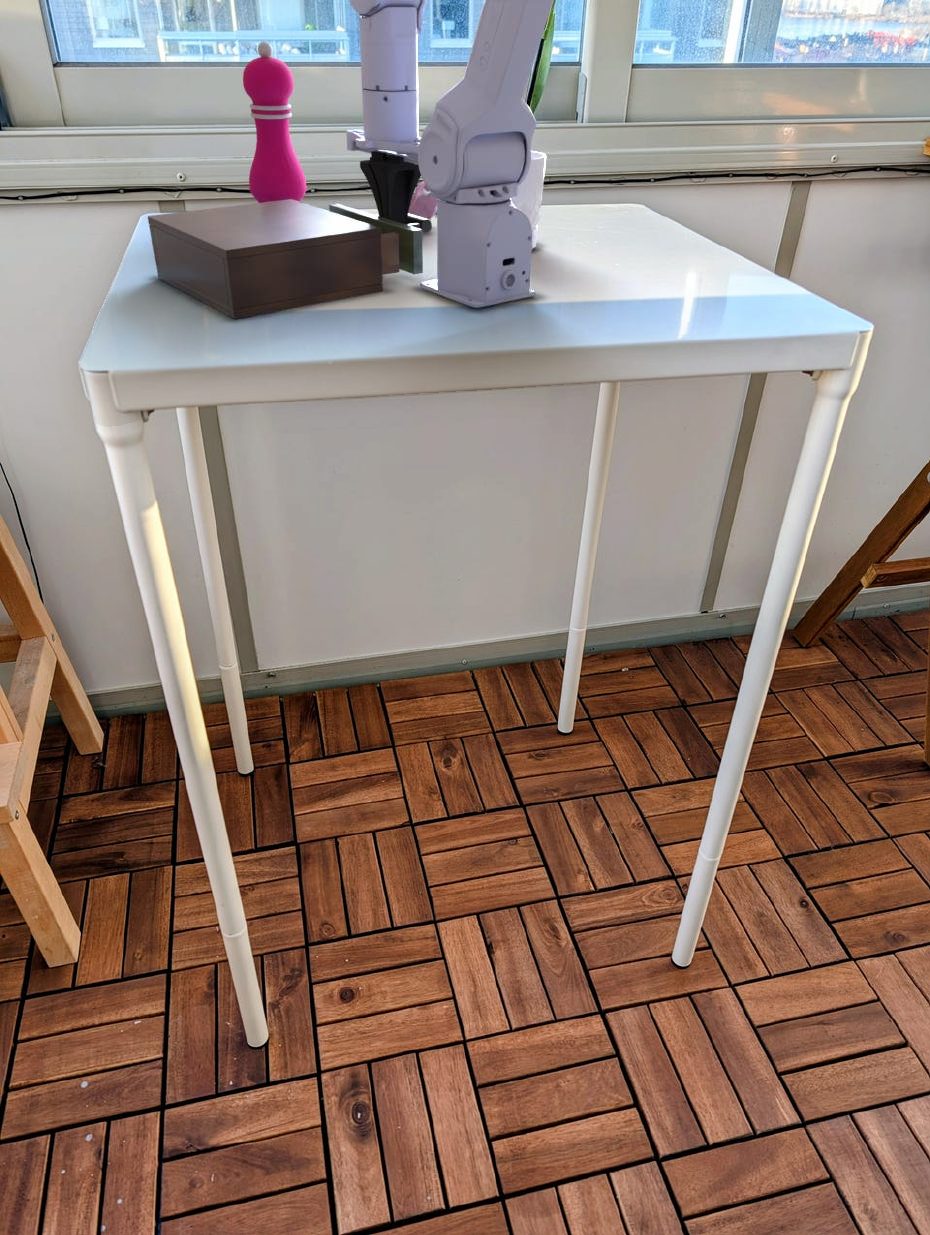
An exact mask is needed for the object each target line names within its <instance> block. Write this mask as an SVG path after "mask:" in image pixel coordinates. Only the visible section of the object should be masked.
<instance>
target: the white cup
mask: <svg viewBox="0 0 930 1235" xmlns="http://www.w3.org/2000/svg"><path fill="white" fill-rule="evenodd" d="M546 161H547V155H546V154H545V153H543V152H539V151H535V150H531V162H530V167H529V171H528V173H527V176H526V178H525V179H524V181H523V182H522V183H521V184H520V185H518V188H517V196H514V197H511V200H512V203H513V205H514V206H515V207H516V208H517V209H519V210H521V211H522V212H524V213H525V214H526V216H527V217H528V219H529V221H530V224H531V228H532V250H533V249H535V248H536V246H537V240H538V229H539V227H538V225H539V221H540V218H541V217H540V216H541V207H542V200H543V190H544V183H545V182H544V181H545V173H546V172H545V171H546V163H547V162H546Z"/></svg>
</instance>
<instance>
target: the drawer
mask: <svg viewBox="0 0 930 1235" xmlns="http://www.w3.org/2000/svg"><path fill="white" fill-rule="evenodd" d="M328 209H329V210H328V211H330V212H333V213H336V214H339V215H342V216H345V217H349V218H352V219H355V220H358V221H361V222H364V223H367V224H370V225H373V226H376V227H380V228H381V249H382V276H385V275H386V276H387V275H392V274H396V273H400V270H401V271H403V272H406V273H408V274H411V275H419V274H423V273H424V264H423V263H424V260H423V259H424V255H423V253H424V252H423V248H424V246H423V244H424V243H423V233H425V234H428V233H430V231H432V229H433V228H432V226H433V224H432V220H431V221H430V220H429V219H425V218H422V217H418V216H415V215H412V214H408V217H407V222H406V225H405V224H402V223H399V222H396V221H392V220H389V219H386V218H383V217H380V216H379V214H373V213H369V212H367V211H363V210H360V209H357V208H353V207H350V206H347V205H344V204H341V203H330V204H329V205H328ZM422 232H423V233H422Z"/></svg>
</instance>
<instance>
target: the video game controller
mask: <svg viewBox="0 0 930 1235" xmlns="http://www.w3.org/2000/svg"><path fill="white" fill-rule="evenodd" d="M408 214H412V215H415V216H418V217H422V218H425V219H429V220H430V221H431V222H432V219H433V217H434V219H437V198H434V197H431V191H430V190H429V189H428V188H427V186H426V184H425V183H424V180H422V181H420V182H418V183H417V185H416V188H415V190H414V193H413V196H412V200H411V203H410V207H409V212H408ZM423 233H424V232H422V234H423Z"/></svg>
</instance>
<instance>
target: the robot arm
mask: <svg viewBox="0 0 930 1235" xmlns="http://www.w3.org/2000/svg"><path fill="white" fill-rule="evenodd" d="M348 1H349V3H350V6H351V7H352V9H353V10H354V11H355V12H356V13H357V14H358V22H359V23H358V28H359V49H360V50H359V51H360V72H361V73H360V74H361V75H360V77H361V97H362V119H363V120H362V121H363V122H362V123H363V129H350V130H349V129H347V130H346V132H345V133H346V135H345V136H346V150H347V151H351V152H356V151H358V152H363V153H367V154H370V155H371V156H370V157H369V159H366V160H365V159H363V160H360V161H359V169H360V170H361V171H362V173H363V175H364V177H365V179H366V181H367V183H368V185H369V188H370V190H371V192H372V195H373V199H374V201H375V206H376V209H377V214H378V215H379V216H380V217H383V218H386V219H389V220H392V221H396V222H399V223H402V224H405V225H406V222H407V217H408V212H409V207H410V203H411V200H412V196H413V195H414V194H415V191H416V188H417V186H418V184H419V181H420V179H422V181H424V183H425V184H426V186H427V188H428V189H429V190H430V191H431V197H434V198H437V218H436V251H437V252H436V267H437V268H436V275H437V276H436V279H430V280H425V281H420V283H419V287H420V288H421V289H424V290H426V291H429V292H431V293H434V294H437V295H439V296H442V297H444V298H447V299H450V300H452V301H456V302H458V303H460V304H463V305H466V306H468V307H471V308H474V309H481V308H485V307H490V306H494V305H498V304H503V303H509V302H512V301H516V300H522V299H526V298H531V297H535V296H536V291H535V290H534V289H531V288H530V284H531V268H532V250H533V249H532V228H531V224H530V221H529V219H528V217H527V216H526V214H525V213H524V212H522V211H521V210H519V209H517V208H516V207H515V206H514V205H513V203H512V200H511V197H514V196H517V188H518V185H520V184H521V183H522V182H523V181H524V179H525V178H526V176H527V173H528V171H529V167H530V162H531V151H532V143H533V142H532V141H533V136H534V133H535V130H536V127H537V124H538V122H537V120H536V118H535V115H534V114H533V111H532V109H531V107H530V106H529V105H528V104H527V102H526V101H525V100H524V98H523V97H524V93H525V91H526V87H527V84H528V81H529V78H530V75H531V72H532V69H533V66H534V64H535V63H534V62H535V59H536V56H537V54H538V53H537V52H538V50H539V47H540V44H541V41H542V38H543V34H544V31H545V29H546V26H547V22H548V19H549V16H550V13H551V10H552V6H553V3H554V0H484V1H483V4H482V7H481V12H480V15H479V19H478V23H477V27H476V30H475V35H474V38H473V42H472V46H471V50H470V53H469V57H468V60H467V64H466V68H465V72H464V76H463V78H462V79H461V80H460V81H459V82H458V83H457V84H455V85H454V86H453V87H452V88H451V89H450V90H449V91H447V92H446V93H445V94H443V96H441V98H439V99H438V100H437V101H436V103H435V107H434V111H433V114H432V117H431V119H430V121H429V123H428V124H427V125H426V127H424V129H423V131H422V133H421V135H419V132H420V130H419V126H420V125H419V63H418V62H419V60H418V58H419V57H418V56H419V53H418V52H419V50H418V47H419V46H418V36H420V35H421V34H422V30H423V28H424V26H423V25H424V23H423V22H424V19H423V18H424V11H425V9H426V6H427V3H428V0H348Z"/></svg>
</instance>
